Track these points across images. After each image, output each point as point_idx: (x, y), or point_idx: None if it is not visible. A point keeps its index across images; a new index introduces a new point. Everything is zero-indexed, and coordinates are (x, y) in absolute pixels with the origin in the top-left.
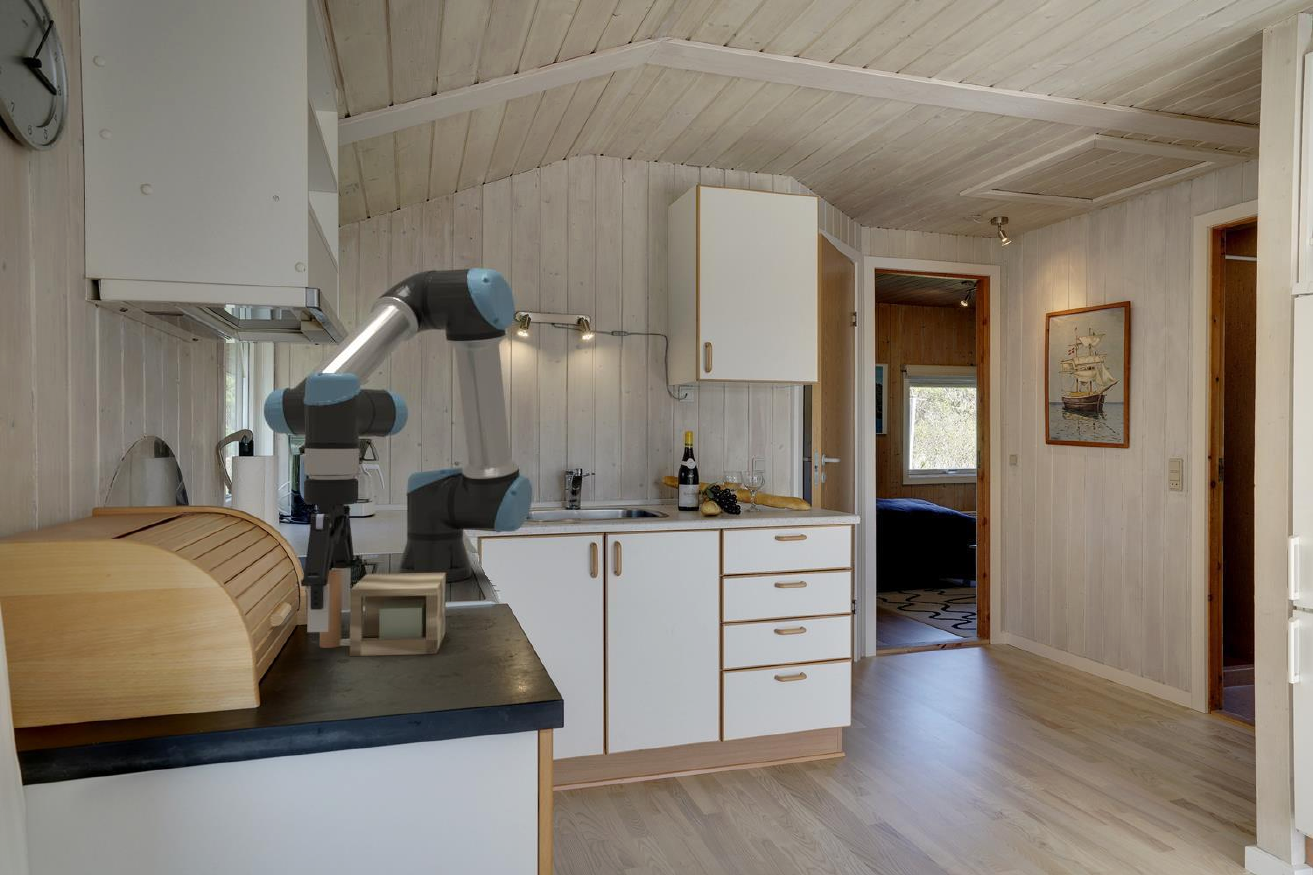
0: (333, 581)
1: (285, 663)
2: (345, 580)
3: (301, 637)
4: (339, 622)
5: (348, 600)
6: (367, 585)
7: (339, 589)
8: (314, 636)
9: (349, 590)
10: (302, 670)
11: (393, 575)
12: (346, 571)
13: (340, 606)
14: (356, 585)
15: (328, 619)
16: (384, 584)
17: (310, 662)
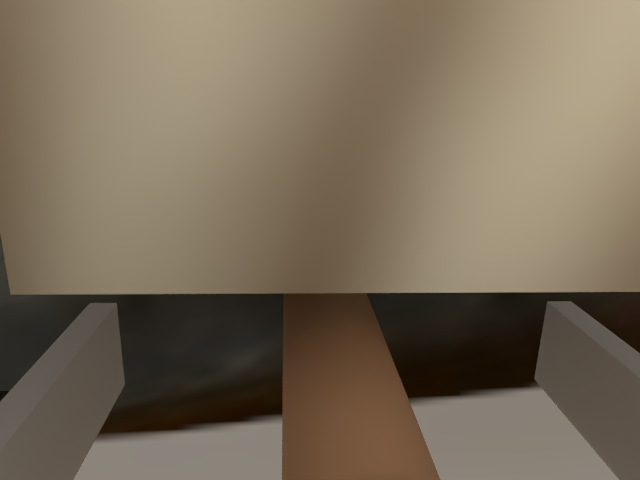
0: (432, 460)
1: (510, 380)
2: (47, 422)
3: (175, 418)
4: (351, 295)
5: (100, 329)
6: (565, 190)
7: (386, 388)
8: (162, 380)
9: (67, 356)
10: (605, 310)
11: (90, 18)
12: (10, 466)
13: (354, 328)
14: (543, 277)
15: (588, 325)
16: (555, 44)
17: (518, 308)
